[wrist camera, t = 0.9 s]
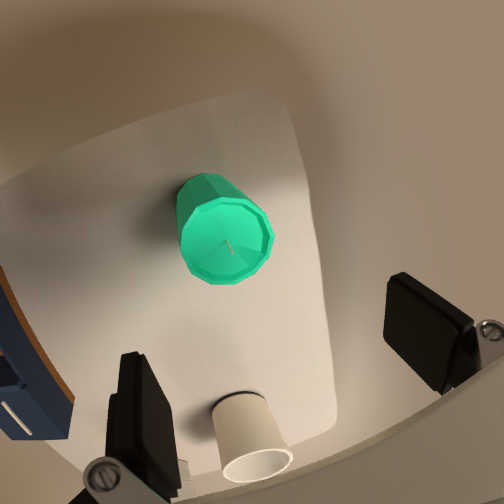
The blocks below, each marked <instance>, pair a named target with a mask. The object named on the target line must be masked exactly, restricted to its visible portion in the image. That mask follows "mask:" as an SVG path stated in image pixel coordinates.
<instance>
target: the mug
mask: <svg viewBox="0 0 504 504" xmlns="http://www.w3.org/2000/svg"><path fill="white" fill-rule="evenodd" d="M212 419H213V424H214V429H215V434H216V439H217V444H218V448H219V453H220V459H221V467H222V473H223V475H224V477H225V478H227V479H228V480H231V481H232V482H236V483H238V482H252V481H258V480H262V479H265V478H268V477H271V476H274V475H276V474H277V473H279V472H281V471H282V470H284V469H285V468H286V467H287V466H288V465H289V464H290V463H291V461H292V459H293V456H292V453H291V451H290V449H289V448H288V446H287V444H286V443H285V441H284V439H283V437H282V435H281V433H280V431H279V428H278V426H277V424H276V422H275V420H274V418H273V415H272V413H271V411H270V409H269V406H268V404H267V402H266V400H265V399H264V397H262V396H261V395H259V394H257V393H254V392H246V391H245V392H237V393H233V394H230V395H227V396H225V397H223V398H222V399H220V400H219V401H218V402H217V403H216V404H215V405H214V407H213V409H212Z"/></svg>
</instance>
